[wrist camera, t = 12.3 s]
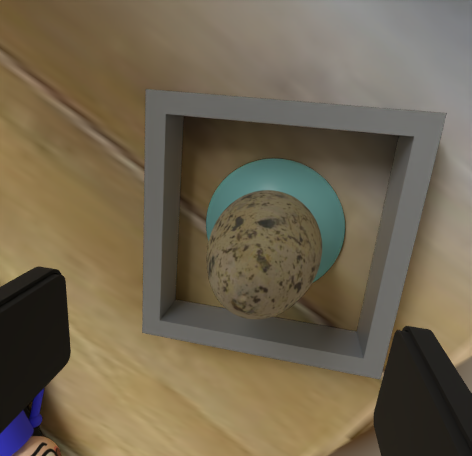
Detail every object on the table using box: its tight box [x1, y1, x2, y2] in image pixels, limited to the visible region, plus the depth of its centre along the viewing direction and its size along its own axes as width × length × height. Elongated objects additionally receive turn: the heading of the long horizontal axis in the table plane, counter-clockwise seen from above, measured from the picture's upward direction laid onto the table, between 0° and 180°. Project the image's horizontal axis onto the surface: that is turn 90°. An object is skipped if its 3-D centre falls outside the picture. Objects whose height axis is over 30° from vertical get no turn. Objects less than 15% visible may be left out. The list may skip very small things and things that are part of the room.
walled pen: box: [142, 89, 447, 379], centre depth 22 cm, size 15×15×3 cm
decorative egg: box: [207, 190, 322, 319], centre depth 18 cm, size 6×6×10 cm
